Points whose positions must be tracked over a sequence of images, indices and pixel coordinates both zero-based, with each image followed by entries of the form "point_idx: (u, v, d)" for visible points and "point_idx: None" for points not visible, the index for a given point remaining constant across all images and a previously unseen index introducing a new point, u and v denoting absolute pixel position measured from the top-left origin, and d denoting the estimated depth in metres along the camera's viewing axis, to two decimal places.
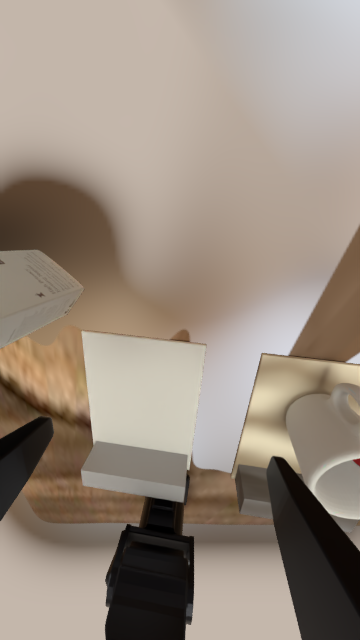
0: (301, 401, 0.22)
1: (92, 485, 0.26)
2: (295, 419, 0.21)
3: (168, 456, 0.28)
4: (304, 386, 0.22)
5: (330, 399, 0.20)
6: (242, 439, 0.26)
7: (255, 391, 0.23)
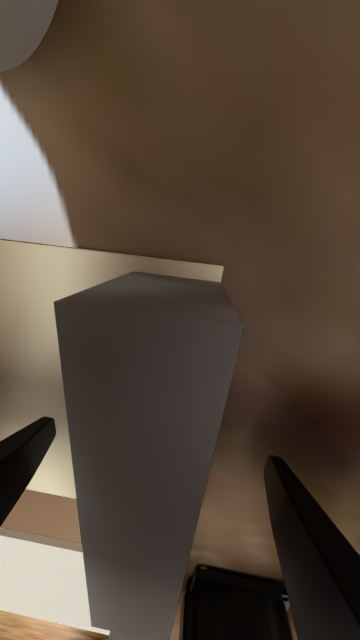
0: None
1: None
2: None
3: None
4: None
5: None
6: (51, 492, 0.12)
7: None
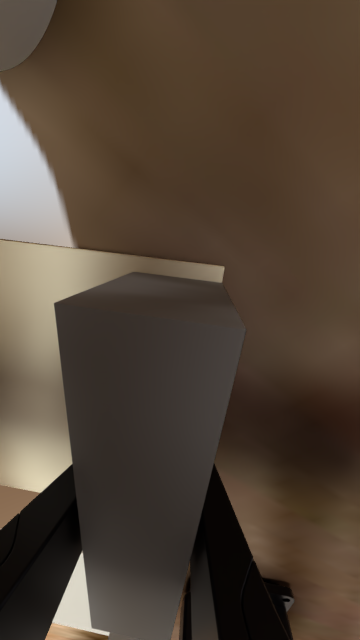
0: None
1: None
2: None
3: None
4: None
5: None
6: None
7: None
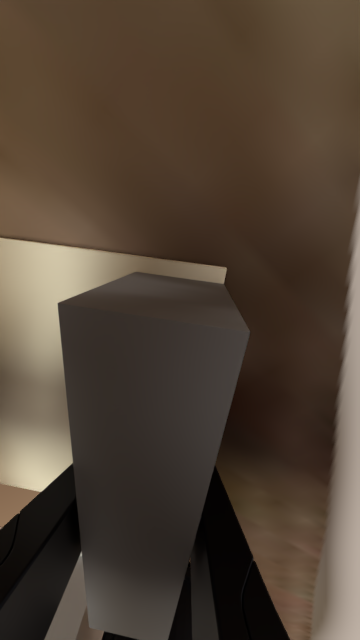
0: None
1: None
2: None
3: None
4: None
5: None
6: None
7: None
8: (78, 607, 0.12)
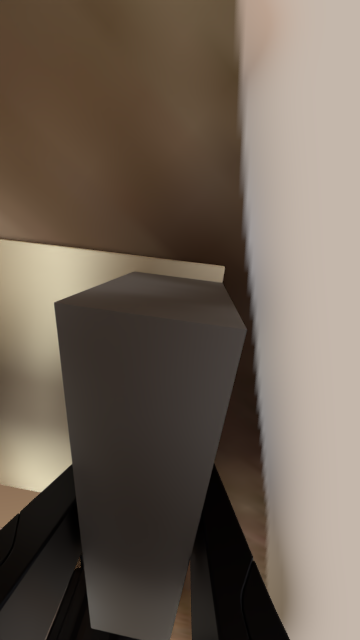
0: None
1: None
2: None
3: None
4: None
5: None
6: None
7: None
8: None
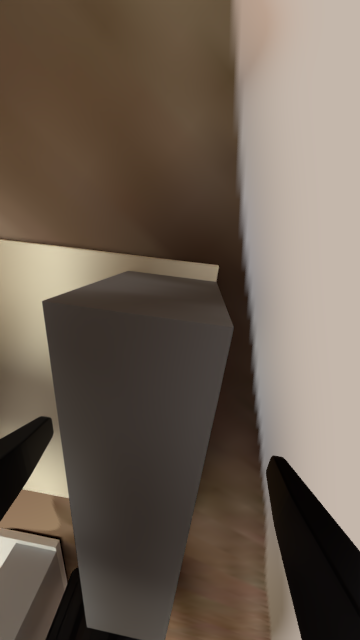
0: None
1: None
2: None
3: None
4: None
5: None
6: (48, 492, 0.12)
7: None
8: (27, 596, 0.12)
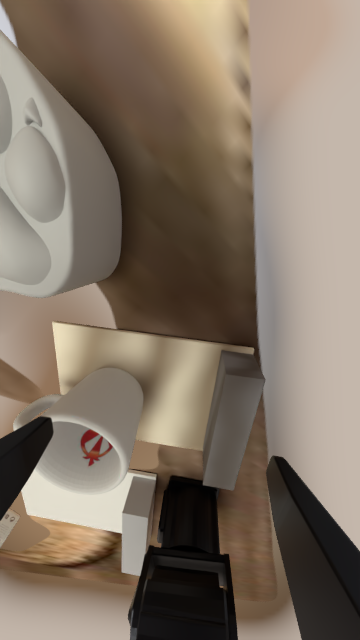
0: None
1: None
2: None
3: None
4: None
5: None
6: (164, 443, 0.24)
7: None
8: (148, 496, 0.25)
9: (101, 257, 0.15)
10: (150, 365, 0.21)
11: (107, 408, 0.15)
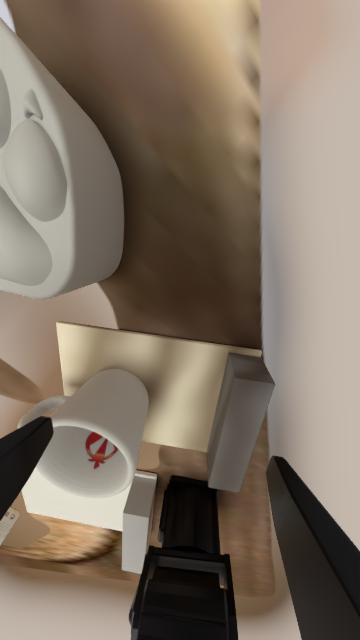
0: None
1: (141, 569, 0.27)
2: None
3: None
4: None
5: None
6: (168, 444, 0.24)
7: None
8: (149, 496, 0.25)
9: (103, 257, 0.14)
10: (155, 366, 0.21)
11: (114, 412, 0.15)
